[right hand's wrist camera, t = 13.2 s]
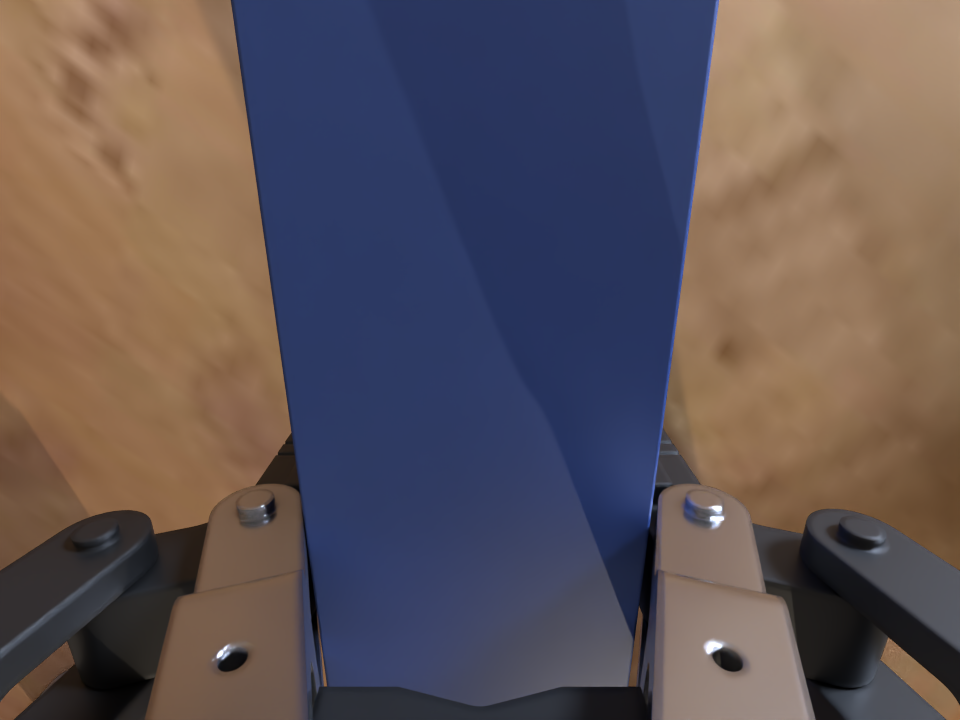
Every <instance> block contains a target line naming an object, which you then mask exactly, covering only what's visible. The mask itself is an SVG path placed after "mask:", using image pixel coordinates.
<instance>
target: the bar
mask: <svg viewBox="0 0 960 720" xmlns="http://www.w3.org/2000/svg"><path fill="white" fill-rule="evenodd" d="M718 4H719V0H231V5H232V12H233V19H234V26H235V33H236V40H237V47H238V54H239V61H240V69H241V76H242V83H243V90H244V97H245V104H246V111H247V118H248V125H249V133H250V140H251V147H252V154H253V161H254V168H255V175H256V182H257V190H258V197H259V204H260V211H261V218H262V225H263V232H264V239H265V246H266V254H267V261H268V268H269V275H270V282H271V289H272V296H273V303H274V310H275V318H276V325H277V332H278V339H279V346H280V353H281V360H282V367H283V375H284V382H285V389H286V396H287V403H288V410H289V417H290V424H291V431H292V439H293V446H294V453H295V460H296V467H297V474H298V481H299V488H300V496H301V503H302V510H303V517H304V524H305V531H306V538H307V545H308V552H309V560H310V567H311V574H312V581H313V588H314V595H315V602H316V609H317V616H318V624H319V631H320V638H321V645H322V652H323V659H324V666H325V673H326V681H327V687H401V688H405V689H409V690H413V691H417V692H421V693H425V694H429V695H433V696H436V697H440V698H444V699H448V700H452V701H456V702H460V703H464V704H468V705H472V706H488V705H492V704H496V703H500V702H504V701H508V700H512V699H516V698H520V697H524V696H527V695H531V694H535V693H539V692H543V691H547V690H551V689H555V688H559V687H628V685H629V677H630V670H631V662H632V654H633V647H634V639H635V632H636V624H637V617H638V609H639V602H640V594H641V586H642V579H643V571H644V564H645V556H646V549H647V541H648V533H649V526H650V518H651V511H652V503H653V496H654V488H655V480H656V473H657V465H658V458H659V450H660V443H661V435H662V428H663V420H664V412H665V405H666V397H667V390H668V382H669V375H670V367H671V359H672V352H673V344H674V337H675V329H676V322H677V314H678V306H679V299H680V291H681V284H682V276H683V269H684V261H685V253H686V246H687V238H688V231H689V223H690V216H691V208H692V201H693V193H694V185H695V178H696V170H697V163H698V155H699V148H700V140H701V132H702V125H703V117H704V110H705V102H706V95H707V87H708V79H709V72H710V64H711V57H712V49H713V42H714V34H715V27H716V19H717V11H718Z"/></svg>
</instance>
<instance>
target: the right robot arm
mask: <svg viewBox="0 0 960 720" xmlns="http://www.w3.org/2000/svg"><path fill="white" fill-rule="evenodd" d="M639 606H640V609H641V612H642V622H641V630H640V643H639V656H638V670H637V683H636V687H559V688H555V689H551V690H547V691H543V692H539V693H535V694H531V695H527V696H524V697H520V698H516V699H512V700H508V701H504V702H500V703H496V704H492V705H488V706H472V705H468V704H464V703H460V702H456V701H452V700H448V699H444V698H440V697H436V696H433V695H429V694H425V693H421V692H417V691H413V690H409V689H405V688H401V687H324V683H323V670H322V656H321V643H320V631H319V624H318V616H317V609H316V602H315V595H314V588H313V581H312V574H311V567H310V560H309V552H308V545H307V538H306V531H305V524H304V517H303V510H302V503H301V496H300V488H299V481H298V474H297V467H296V460H295V453H294V446H293V439H292V433H291V434H290V436H289V437H288V439H287V440H286V442H285V444H283V446H282V447H281V449H280V450H279V452H278V455H276V456H275V458H274V459H273V461H272V462H271V463H270V465H269V466H268V468H267V469H266V471H265V472H264V474H263V475H262V477H261V478H260V479H259V481H258V482H257V484H256V485H255V486H251V487H248V488H244V489H242V490H239V491H237V492H235V493H233V494H231V495H229V496H227V497H226V498H224V499H223V500H221V501H220V502H219V503H218V504H217V505H216V506H215V507H214V508H213V510H212V512H211V514H210V517H209V521H208V523H205V524H202V525H198V526H194V527H189V528H184V529H179V530H174V531H169V532H164V533H159V534H154V530H153V526H152V522H151V520H150V518H149V517H148V516H147V515H146V514H144V513H142V512H138V511H131V510H121V511H112V512H107V513H103V514H99V515H95V516H92V517H89V518H87V519H84V520H82V521H79V522H77V523H75V524H73V525H71V526H69V527H67V528H66V529H64V530H62V531H61V532H59V533H58V534H56V535H55V536H53V537H51V538H50V539H48V540H47V541H45V542H44V543H42V544H41V545H39V546H38V547H36V548H35V549H33V550H32V551H30V552H28V553H27V554H25V555H24V556H22V557H21V558H19V559H18V560H16V561H15V562H13V563H12V564H10V565H9V566H7V567H5V568H4V569H2V570H1V571H0V702H1V700H2V699H3V698H4V696H5V695H6V694H7V693H8V692H9V690H10V689H12V688H13V687H14V686H15V685H16V684H17V683H18V682H19V681H21V680H22V679H23V678H24V677H25V676H26V675H28V674H29V673H30V672H31V671H32V670H33V669H35V668H36V667H37V666H38V665H39V664H40V663H42V662H43V661H44V660H45V659H46V658H47V657H49V656H50V655H51V654H52V653H53V652H55V651H56V650H57V649H58V648H59V647H60V646H62V645H63V644H64V643H65V642H66V641H67V642H68V645H69V647H70V650H71V653H72V656H73V659H74V661H75V665H74V666H72V667H71V668H70V669H69V670H68V671H66V672H64V673H62V674H60V675H59V676H57V677H56V678H55V679H54V680H53V681H52V682H51V683H50V684H49V685H48V687H47V688H46V689H45V690H44V691H43V693H42V694H41V695H40V696H39V697H38V698H37V699H36V700H35V701H34V702H33V703H32V704H31V705H29V706H28V707H27V708H26V709H25V710H24V711H23V712H22V713H21V714H20V715H18V716H17V717H16V718H15V719H14V720H815V719H816V720H946V719H945V718H944V717H943V716H942V715H940V714H939V713H938V712H937V711H936V710H935V709H934V708H933V707H932V706H931V705H929V704H928V703H927V702H926V701H925V700H924V699H923V698H922V697H921V696H919V695H918V694H917V693H916V692H915V691H914V690H913V689H912V688H911V687H910V686H908V685H907V684H906V683H905V682H904V681H903V680H902V679H901V678H900V677H899V676H897V675H896V674H895V673H894V672H893V671H892V670H891V669H890V668H889V667H888V666H886V665H885V664H884V663H883V662H882V661H881V660H880V659H881V656H882V654H883V651H884V648H885V645H886V642H887V639H888V637H889V638H890V639H891V640H893V641H894V642H895V643H896V644H897V645H898V646H900V647H901V648H902V649H903V650H904V651H905V652H907V653H908V654H909V655H910V656H911V657H912V658H914V659H915V660H916V661H917V662H918V663H920V664H921V665H922V666H923V667H924V668H925V669H927V670H928V671H929V672H930V673H931V674H932V675H934V676H935V677H936V678H937V679H938V680H939V681H941V682H942V683H943V684H944V685H945V686H946V687H947V688H948V689H949V690H950V691H951V693H952V694H953V695H954V697H955V698H956V699H957V701H958V703H959V704H960V571H959V570H958V569H956V568H955V567H953V566H951V565H950V564H948V563H947V562H945V561H944V560H942V559H941V558H939V557H938V556H936V555H935V554H933V553H932V552H930V551H928V550H927V549H925V548H924V547H922V546H921V545H919V544H918V543H916V542H915V541H913V540H912V539H910V538H908V537H907V536H905V535H904V534H902V533H901V532H899V531H898V530H896V529H895V528H893V527H891V526H890V525H888V524H886V523H884V522H882V521H880V520H877V519H875V518H872V517H870V516H867V515H864V514H861V513H857V512H853V511H848V510H841V509H823V510H818V511H815V512H813V513H812V514H810V515H809V516H808V518H807V521H806V525H805V529H804V532H803V534H801V533H796V532H791V531H785V530H780V529H775V528H770V527H765V526H761V525H757V524H753V523H752V521H751V517H750V514H749V511H748V510H747V508H746V507H745V506H744V505H743V504H742V503H741V502H740V501H739V500H737V499H736V498H734V497H733V496H731V495H729V494H727V493H725V492H723V491H721V490H718V489H716V488H712V487H709V486H704V485H701V484H700V483H699V481H698V480H697V478H696V477H695V475H694V474H693V473H692V471H691V470H690V468H689V467H688V465H687V464H686V462H685V461H684V459H683V458H682V456H681V455H679V452H678V450H677V449H676V447H675V446H674V444H671V440H670V438H669V437H668V435H667V434H666V432H665V431H664V430H663V428H662V435H661V443H660V450H659V458H658V465H657V473H656V480H655V488H654V496H653V503H652V511H651V518H650V526H649V533H648V541H647V549H646V556H645V564H644V571H643V579H642V586H641V594H640V602H639Z"/></svg>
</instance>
